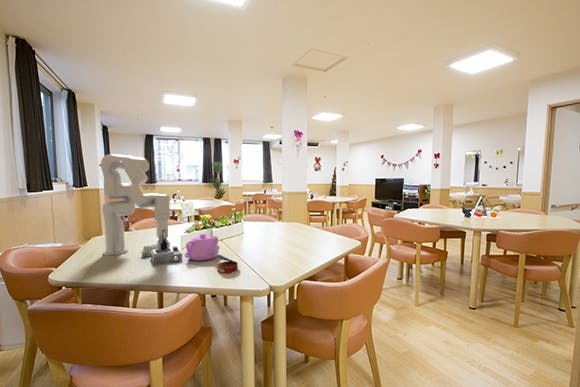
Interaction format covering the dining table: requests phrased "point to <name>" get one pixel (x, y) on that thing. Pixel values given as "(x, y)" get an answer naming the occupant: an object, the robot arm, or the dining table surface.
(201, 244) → the teapot
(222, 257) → the canned food
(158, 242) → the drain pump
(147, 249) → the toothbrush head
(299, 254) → the dining table surface
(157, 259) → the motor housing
